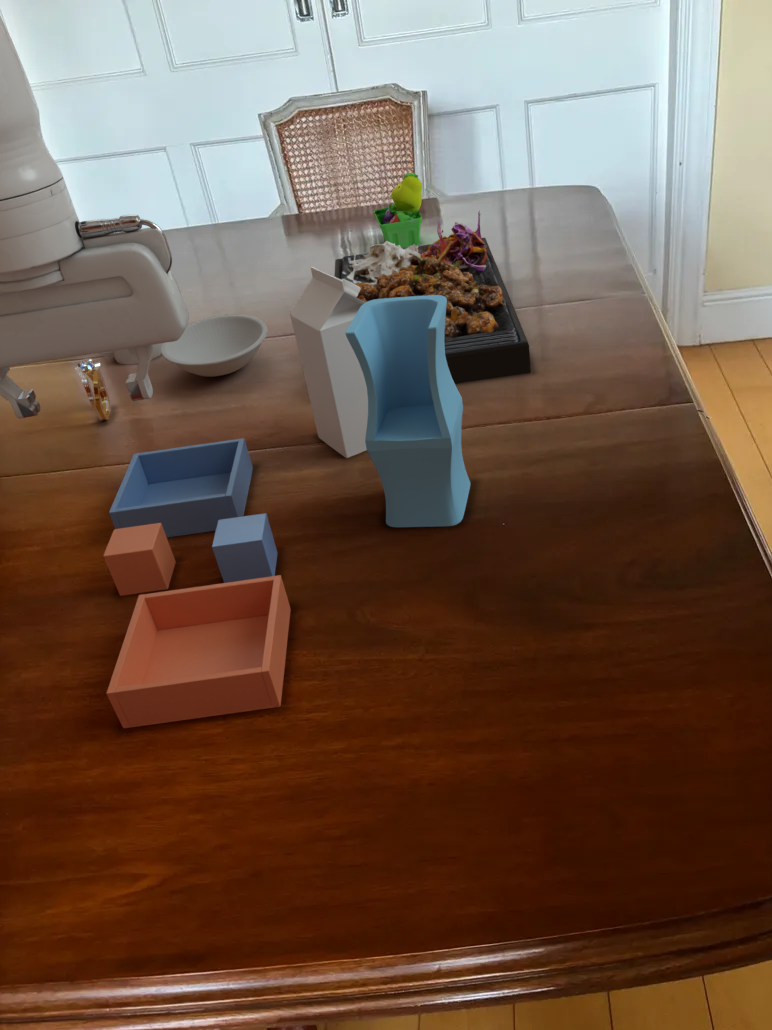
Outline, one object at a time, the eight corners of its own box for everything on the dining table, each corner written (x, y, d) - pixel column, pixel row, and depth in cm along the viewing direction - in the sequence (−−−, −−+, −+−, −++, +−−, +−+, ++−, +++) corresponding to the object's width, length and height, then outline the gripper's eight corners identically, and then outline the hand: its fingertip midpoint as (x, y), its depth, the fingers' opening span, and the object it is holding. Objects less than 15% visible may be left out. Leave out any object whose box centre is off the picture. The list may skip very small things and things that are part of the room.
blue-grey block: (226, 591, 82) (211, 546, 79) (232, 563, 86) (218, 519, 83) (275, 584, 82) (261, 539, 79) (278, 556, 86) (266, 512, 83)
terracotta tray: (125, 732, 69) (105, 693, 66) (154, 632, 78) (138, 594, 76) (281, 711, 69) (268, 670, 66) (291, 613, 78) (280, 574, 76)
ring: (99, 409, 118) (77, 352, 114) (123, 405, 119) (102, 347, 114) (91, 433, 113) (67, 373, 108) (116, 428, 113) (93, 369, 108)
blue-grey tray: (122, 547, 90) (108, 512, 88) (146, 486, 100) (133, 453, 97) (242, 530, 90) (231, 495, 88) (254, 471, 100) (244, 437, 97)
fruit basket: (377, 238, 166) (366, 173, 160) (423, 230, 167) (415, 165, 160) (384, 255, 157) (373, 187, 150) (433, 247, 158) (425, 178, 151)
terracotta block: (121, 600, 83) (102, 556, 80) (131, 571, 87) (113, 528, 84) (169, 593, 83) (152, 549, 80) (177, 565, 87) (161, 522, 83)
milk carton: (347, 462, 99) (310, 291, 87) (318, 440, 104) (280, 276, 92) (401, 439, 102) (373, 271, 90) (371, 419, 107) (340, 257, 95)
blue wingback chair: (382, 532, 87) (344, 333, 75) (397, 489, 93) (363, 299, 81) (462, 530, 85) (436, 327, 73) (472, 487, 92) (449, 293, 79)
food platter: (340, 286, 147) (327, 221, 140) (488, 265, 147) (482, 198, 140) (334, 405, 111) (317, 324, 105) (531, 376, 111) (525, 293, 105)
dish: (174, 359, 130) (163, 325, 127) (272, 340, 131) (264, 306, 128) (169, 409, 116) (157, 373, 113) (279, 387, 117) (270, 351, 114)
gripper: (164, 199, 68) (216, 371, 76) (-103, 240, 68) (-22, 408, 76) (150, 221, 63) (206, 403, 71) (-139, 266, 63) (-48, 442, 71)
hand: (86, 406), depth 74 cm, fingers open, 8 cm apart
